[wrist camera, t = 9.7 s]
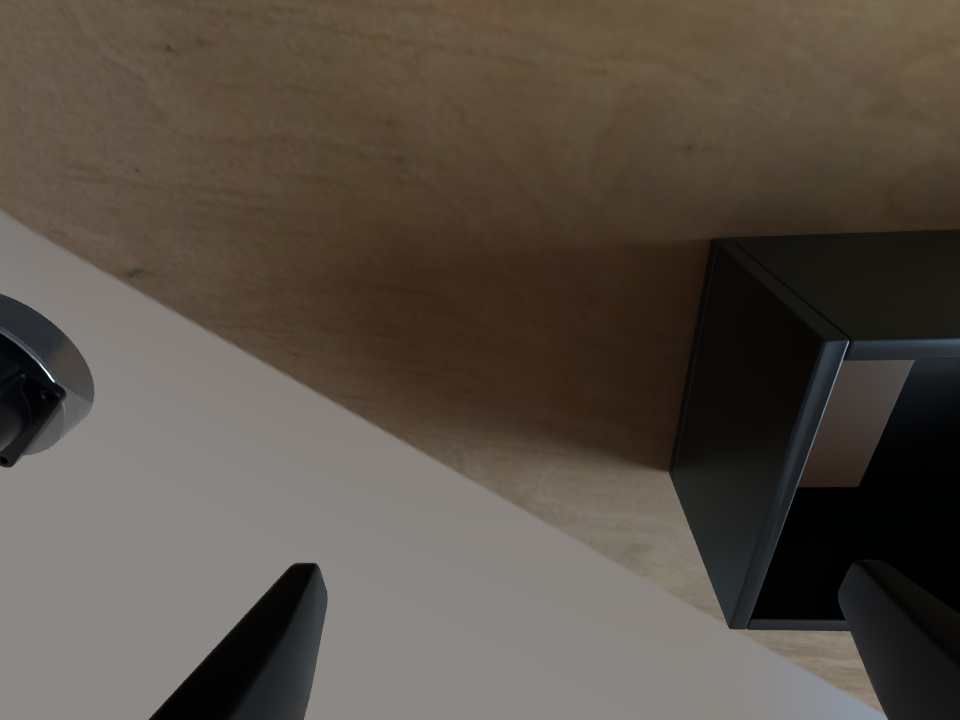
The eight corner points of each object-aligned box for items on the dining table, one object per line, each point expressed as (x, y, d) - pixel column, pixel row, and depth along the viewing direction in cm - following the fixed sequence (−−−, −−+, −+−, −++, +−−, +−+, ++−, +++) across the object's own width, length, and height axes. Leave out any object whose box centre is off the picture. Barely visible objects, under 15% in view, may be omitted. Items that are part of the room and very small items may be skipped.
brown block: (824, 445, 22) (858, 487, 20) (728, 446, 22) (751, 488, 20) (880, 293, 18) (930, 325, 16) (765, 297, 19) (799, 328, 16)
